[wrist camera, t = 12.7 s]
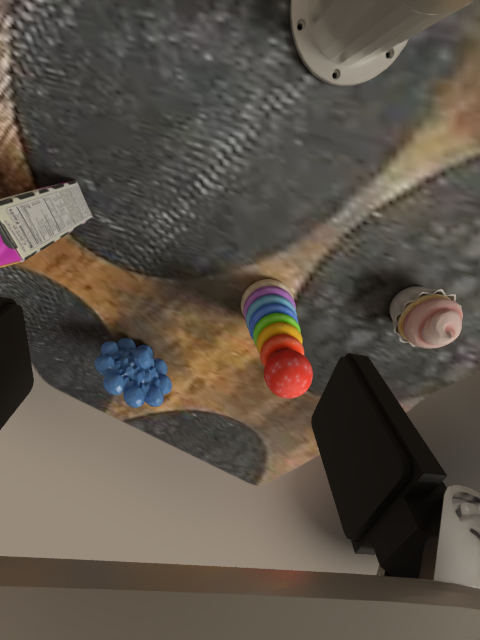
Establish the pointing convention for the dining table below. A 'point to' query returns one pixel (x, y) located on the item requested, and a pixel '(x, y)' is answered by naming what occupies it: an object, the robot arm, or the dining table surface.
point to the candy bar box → (39, 219)
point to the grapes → (133, 373)
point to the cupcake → (426, 317)
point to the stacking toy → (277, 337)
